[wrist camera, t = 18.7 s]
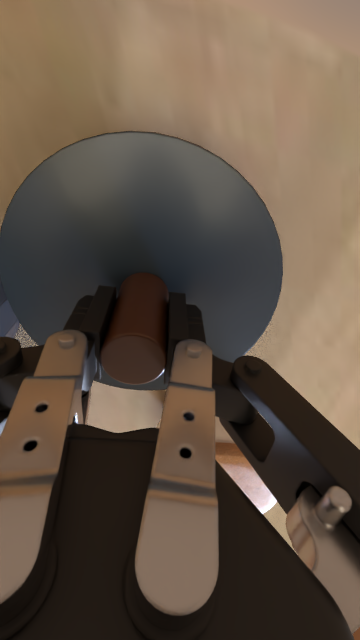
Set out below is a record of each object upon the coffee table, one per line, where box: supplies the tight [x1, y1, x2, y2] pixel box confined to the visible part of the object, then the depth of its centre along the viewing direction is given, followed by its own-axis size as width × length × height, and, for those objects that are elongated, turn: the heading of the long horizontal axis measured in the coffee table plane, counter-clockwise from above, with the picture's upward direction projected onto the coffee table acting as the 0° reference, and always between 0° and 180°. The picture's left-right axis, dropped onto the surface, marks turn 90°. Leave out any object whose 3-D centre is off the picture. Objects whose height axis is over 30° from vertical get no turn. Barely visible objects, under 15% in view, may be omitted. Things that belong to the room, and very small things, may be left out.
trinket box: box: [156, 416, 277, 513], centre depth 25 cm, size 11×11×9 cm
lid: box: [0, 131, 283, 390], centre depth 13 cm, size 14×14×6 cm
